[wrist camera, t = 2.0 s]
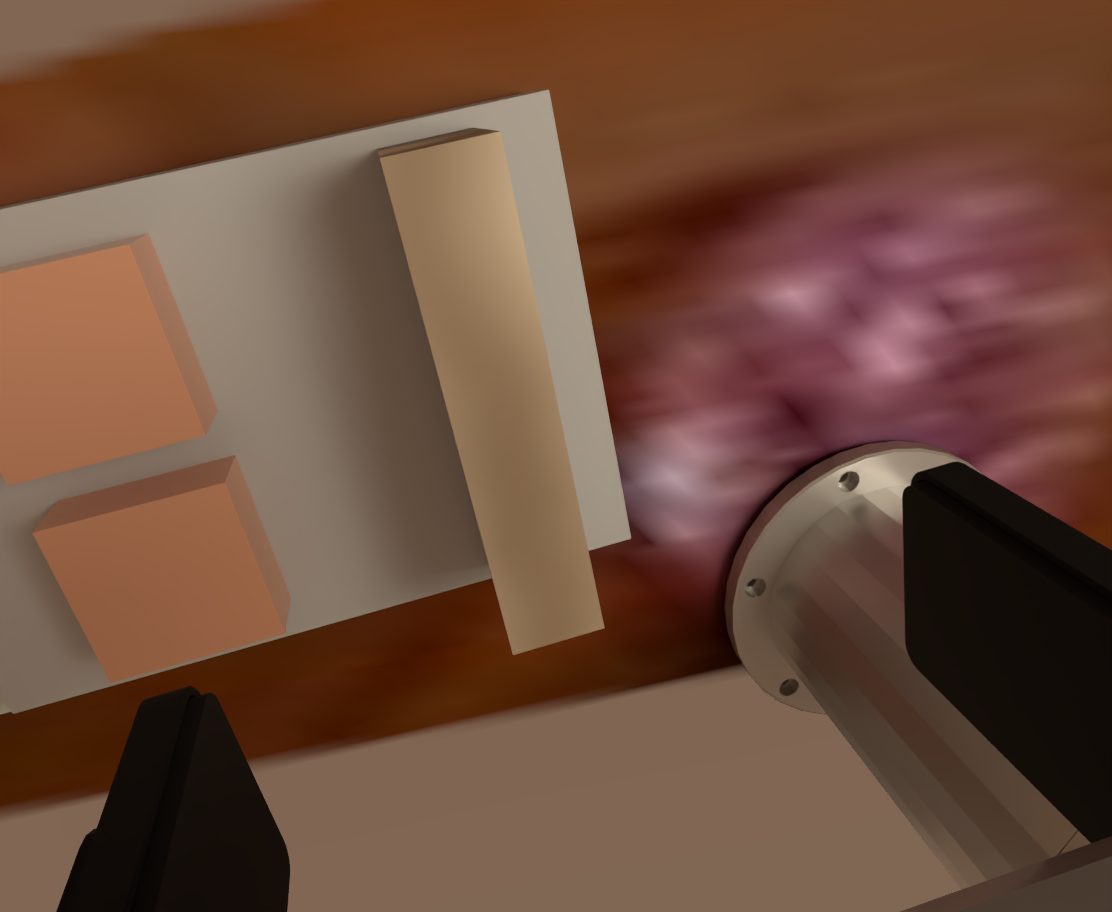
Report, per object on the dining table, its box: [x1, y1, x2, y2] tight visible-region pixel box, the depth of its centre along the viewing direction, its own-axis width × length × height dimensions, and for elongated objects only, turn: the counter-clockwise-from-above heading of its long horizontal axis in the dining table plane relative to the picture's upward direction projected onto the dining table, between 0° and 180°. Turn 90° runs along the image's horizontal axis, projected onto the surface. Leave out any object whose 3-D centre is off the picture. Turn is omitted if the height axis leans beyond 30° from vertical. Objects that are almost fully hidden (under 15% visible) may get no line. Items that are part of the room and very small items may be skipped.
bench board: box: [0, 90, 631, 714], centre depth 26 cm, size 20×14×4 cm
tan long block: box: [377, 127, 604, 655], centre depth 23 cm, size 3×13×5 cm, turn 11°
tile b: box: [0, 233, 218, 486], centre depth 22 cm, size 5×5×2 cm
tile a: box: [32, 455, 291, 683], centre depth 24 cm, size 5×5×2 cm
